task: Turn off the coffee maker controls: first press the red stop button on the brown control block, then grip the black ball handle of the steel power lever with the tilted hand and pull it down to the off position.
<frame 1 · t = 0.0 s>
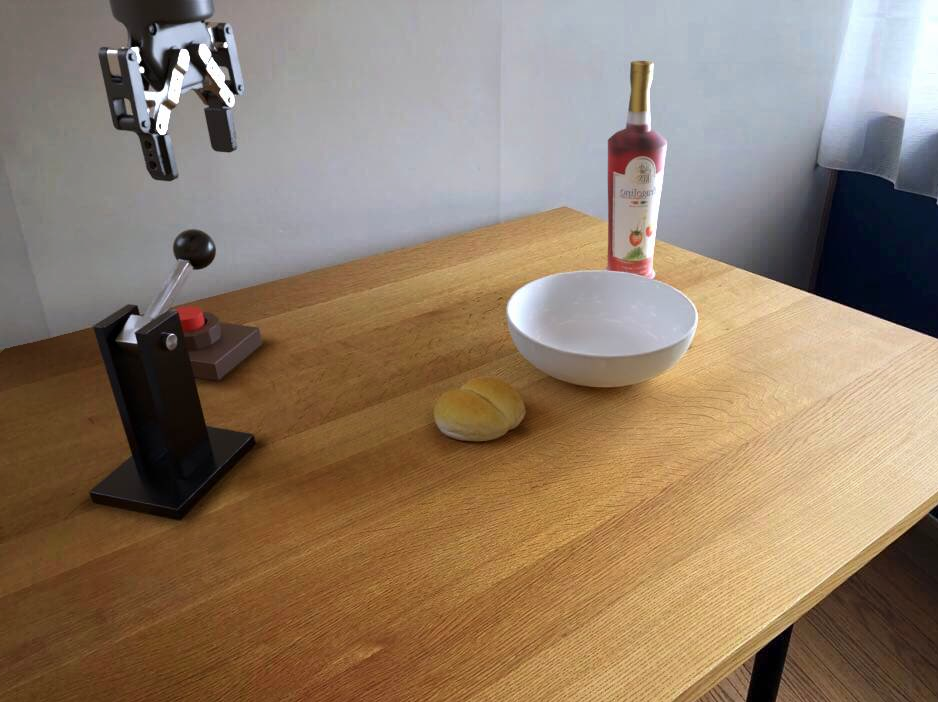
hand: (196, 164, 74), 26 cm above the table, tool pointing down, fingers open, 8 cm apart
liquor: (628, 283, 116), on the table
stop button: (186, 319, 96), point 4 cm above the table, slide at 0.1 cm
serving bowl: (599, 364, 97), on the table
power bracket: (178, 471, 80), on the table
bread roll: (480, 422, 87), on the table
lever: (169, 290, 75), point 16 cm above the table, hinge at 26.0°
control block: (195, 354, 99), on the table
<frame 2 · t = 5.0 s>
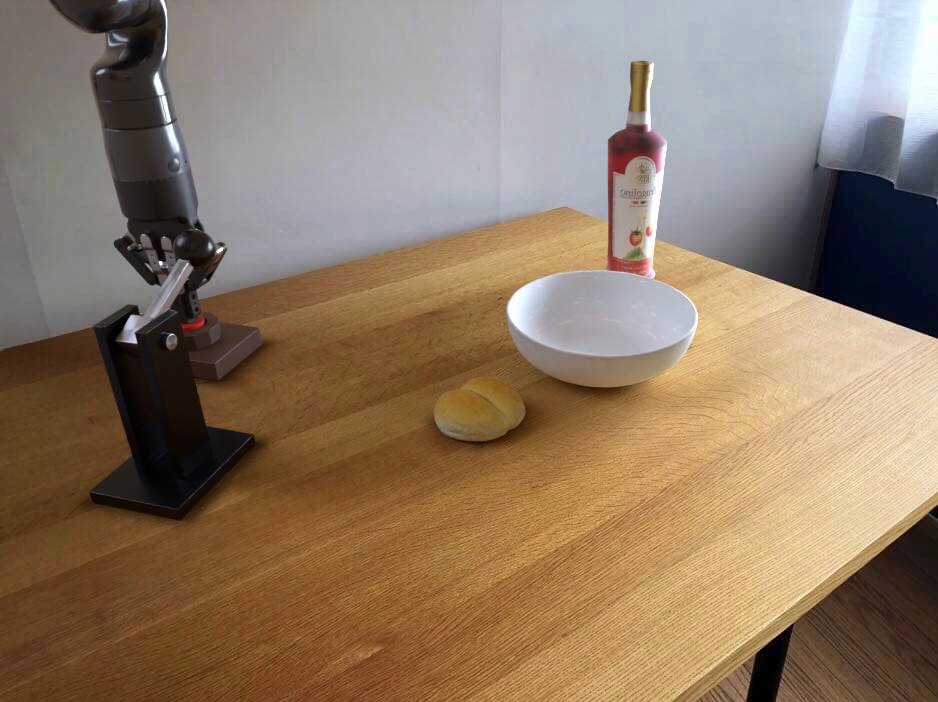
hand: (188, 319, 96), 4 cm above the table, tool pointing down, fingers closed
stop button: (188, 327, 97), point 4 cm above the table, slide at -0.8 cm, touching gripper
everything else where it was.
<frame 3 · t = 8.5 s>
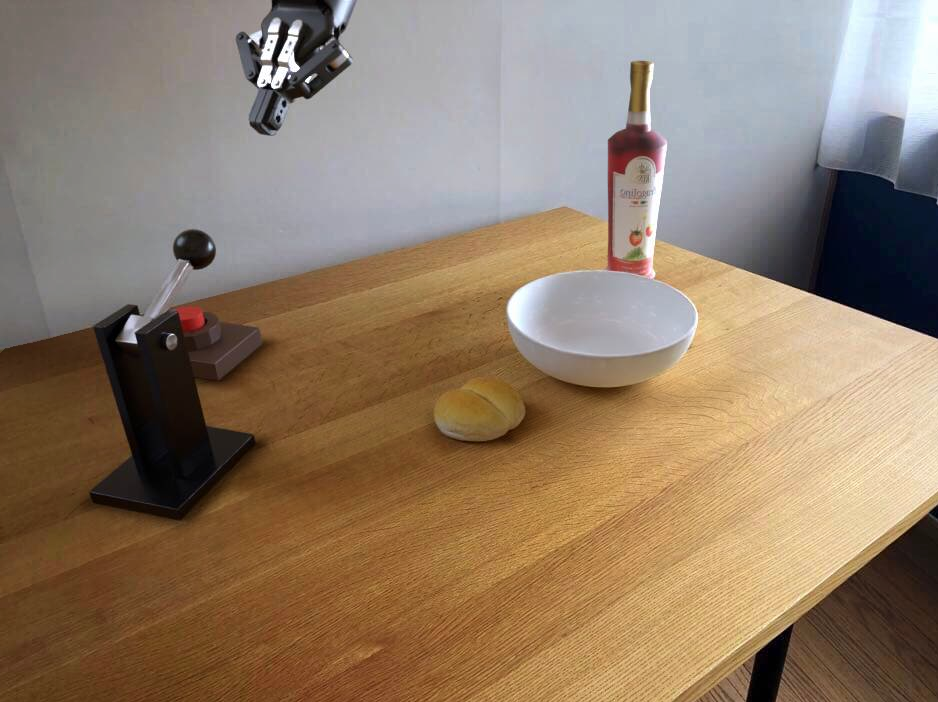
hand: (260, 130, 81), 26 cm above the table, tool tilted 45°, fingers closed
stop button: (186, 319, 96), point 4 cm above the table, slide at 0.1 cm
everything else where it was.
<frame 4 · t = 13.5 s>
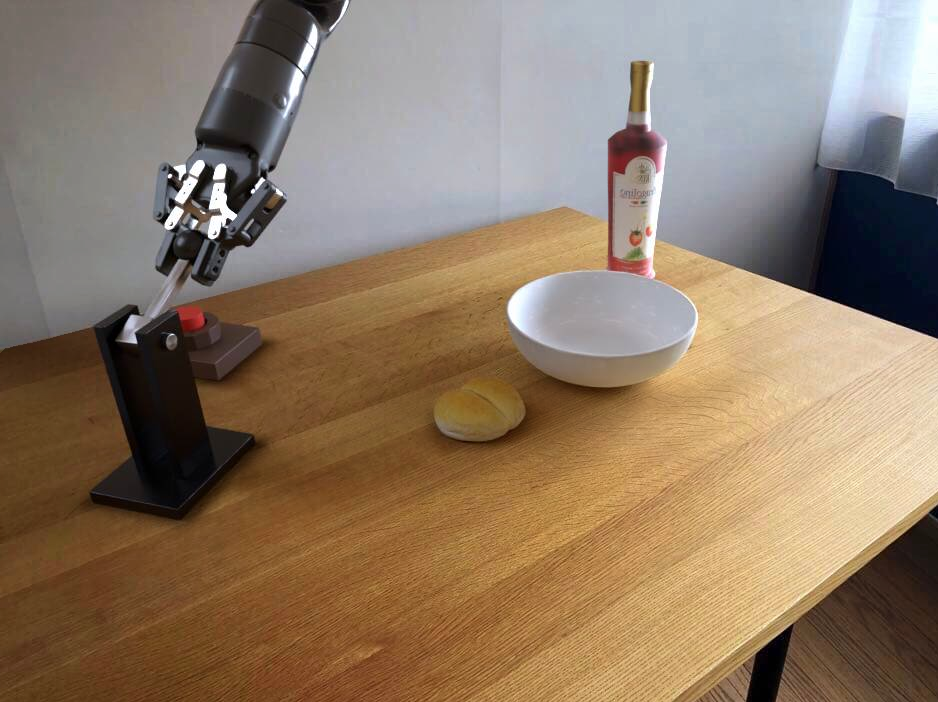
hand: (182, 277, 77), 16 cm above the table, tool tilted 45°, fingers closed on lever, 3 cm apart
lever: (169, 290, 75), point 16 cm above the table, hinge at 26.0°, touching gripper
everything else where it was.
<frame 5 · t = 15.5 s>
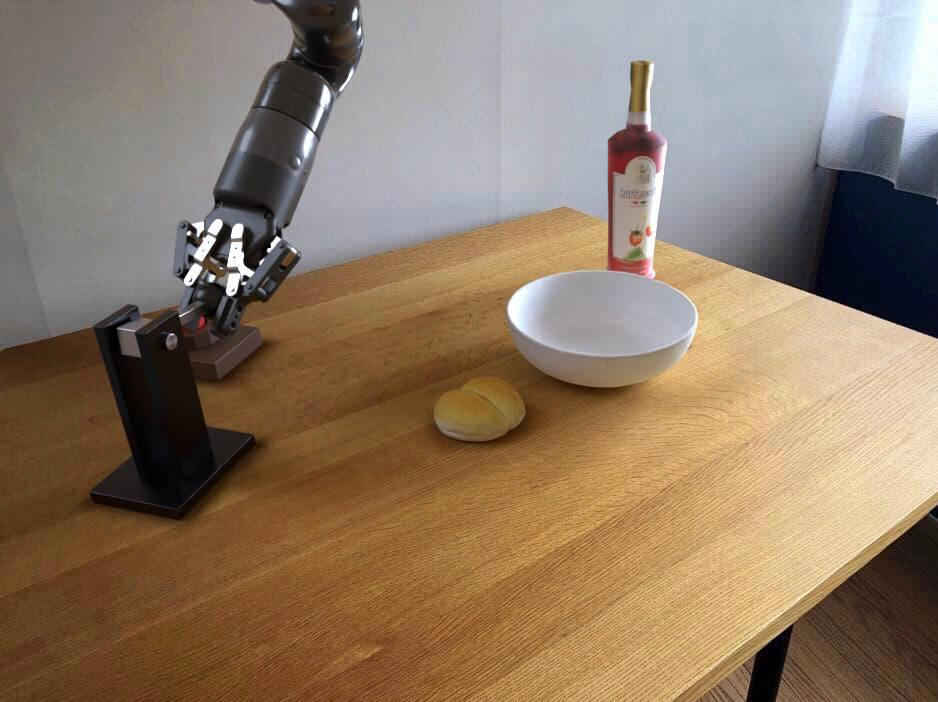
hand: (201, 331, 81), 11 cm above the table, tool tilted 45°, fingers closed on lever, 3 cm apart
lever: (180, 317, 77), point 13 cm above the table, hinge at -6.6°, touching gripper
everything else where it was.
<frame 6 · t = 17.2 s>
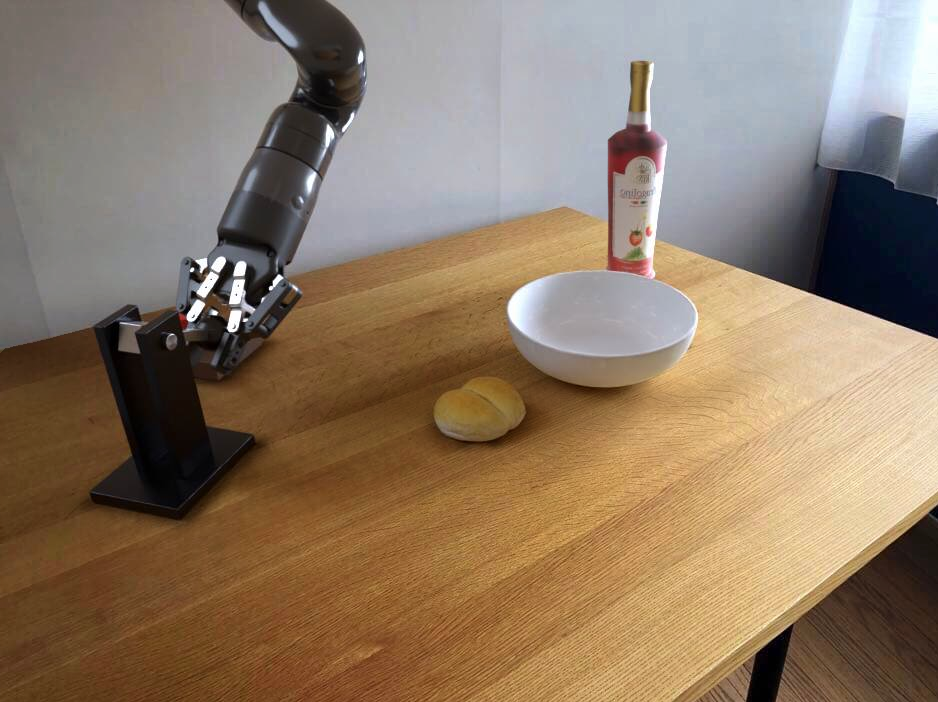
hand: (202, 367, 82), 7 cm above the table, tool tilted 45°, fingers closed on lever, 3 cm apart
lever: (181, 335, 77), point 12 cm above the table, hinge at -24.5°, touching gripper
everything else where it was.
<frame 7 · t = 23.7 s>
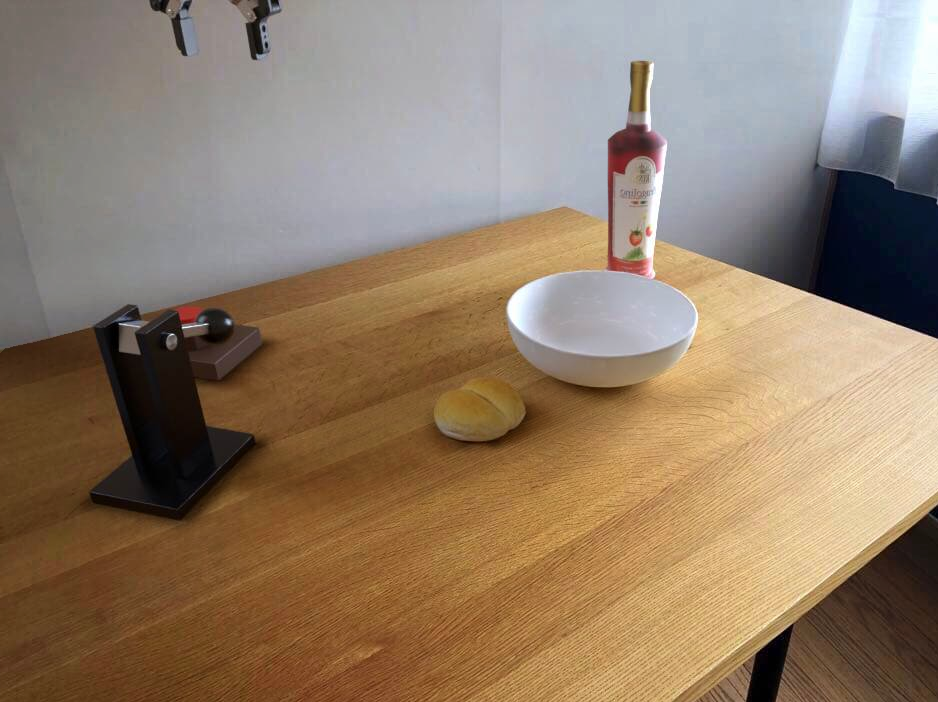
hand: (224, 57, 93), 30 cm above the table, tool pointing down, fingers open, 8 cm apart
lever: (181, 331, 77), point 12 cm above the table, hinge at -20.5°
everything else where it was.
at the end: stop button pushed in 1.1 cm at the most during the clip, back to where it started at the end; stop button slide at 0.1 cm; lever at -20° (first picture: +26°) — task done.
